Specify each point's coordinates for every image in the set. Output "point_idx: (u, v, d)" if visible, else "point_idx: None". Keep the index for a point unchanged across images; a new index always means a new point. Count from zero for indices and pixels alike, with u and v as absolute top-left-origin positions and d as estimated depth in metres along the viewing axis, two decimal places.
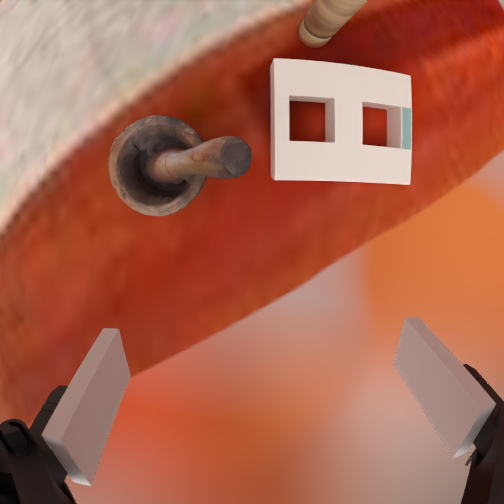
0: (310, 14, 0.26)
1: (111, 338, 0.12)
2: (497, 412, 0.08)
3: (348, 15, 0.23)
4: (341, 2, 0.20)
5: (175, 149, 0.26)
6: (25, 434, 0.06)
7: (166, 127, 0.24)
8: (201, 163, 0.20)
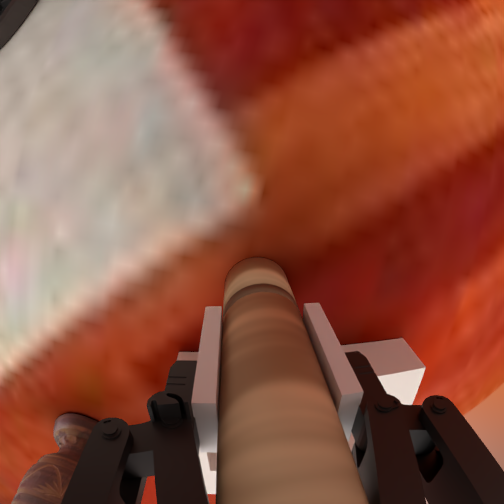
0: None
1: (219, 314, 0.14)
2: (365, 406, 0.09)
3: None
4: None
5: None
6: (179, 407, 0.09)
7: None
8: None
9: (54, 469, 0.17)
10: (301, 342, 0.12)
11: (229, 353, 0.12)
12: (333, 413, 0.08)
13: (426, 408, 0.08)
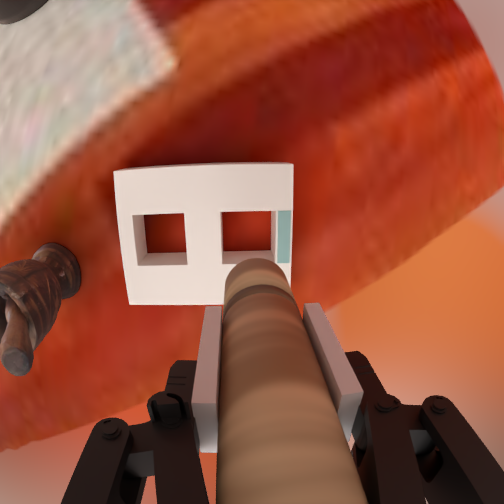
0: None
1: (219, 314, 0.14)
2: (365, 406, 0.09)
3: None
4: None
5: (12, 306, 0.23)
6: (179, 407, 0.09)
7: (0, 288, 0.22)
8: None
9: (23, 260, 0.27)
10: (302, 343, 0.12)
11: (229, 354, 0.12)
12: (333, 415, 0.08)
13: (426, 408, 0.08)
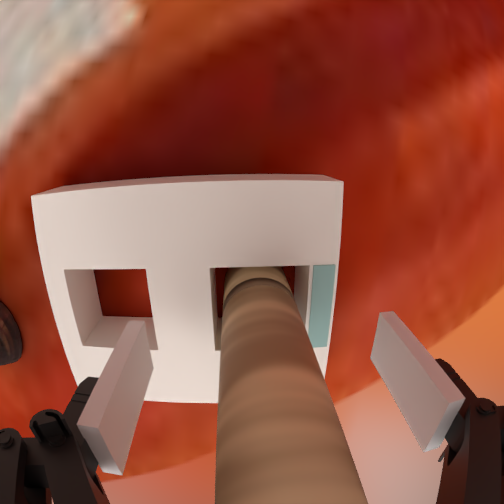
0: None
1: (138, 330, 0.13)
2: (467, 408, 0.08)
3: None
4: None
5: None
6: (60, 425, 0.07)
7: None
8: None
9: None
10: (297, 331, 0.12)
11: (229, 342, 0.12)
12: (326, 396, 0.09)
13: None
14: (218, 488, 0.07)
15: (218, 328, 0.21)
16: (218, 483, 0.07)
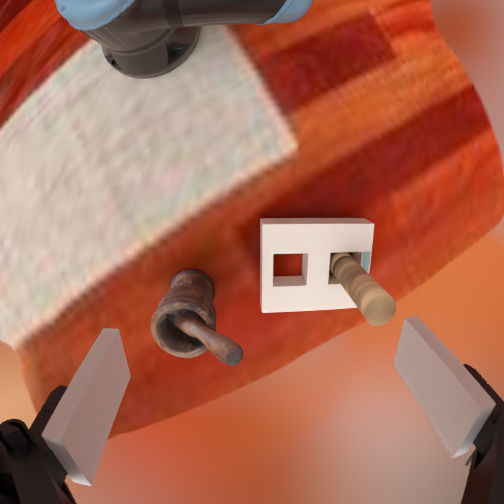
0: (339, 279, 0.45)
1: (111, 338, 0.12)
2: (497, 412, 0.08)
3: None
4: None
5: (194, 320, 0.40)
6: (25, 434, 0.06)
7: (187, 308, 0.39)
8: (214, 354, 0.35)
9: (187, 285, 0.44)
10: (364, 269, 0.43)
11: (346, 272, 0.43)
12: None
13: None
14: (359, 296, 0.37)
15: None
16: (359, 295, 0.37)
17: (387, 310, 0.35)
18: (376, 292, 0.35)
